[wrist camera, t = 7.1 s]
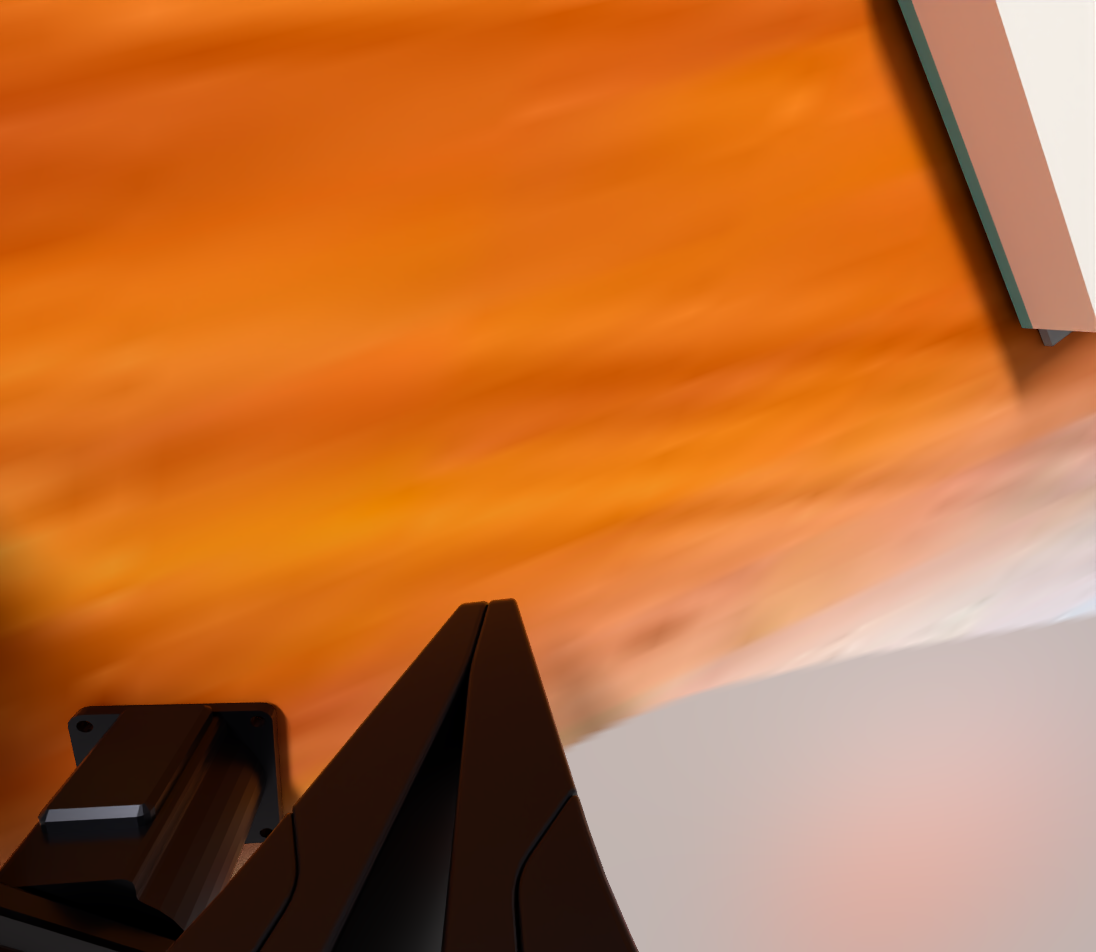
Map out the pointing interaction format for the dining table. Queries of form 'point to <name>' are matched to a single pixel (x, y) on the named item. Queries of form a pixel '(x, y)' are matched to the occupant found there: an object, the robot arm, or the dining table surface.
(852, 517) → the dining table surface
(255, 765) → the robot arm
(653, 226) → the dining table surface
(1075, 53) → the tile
